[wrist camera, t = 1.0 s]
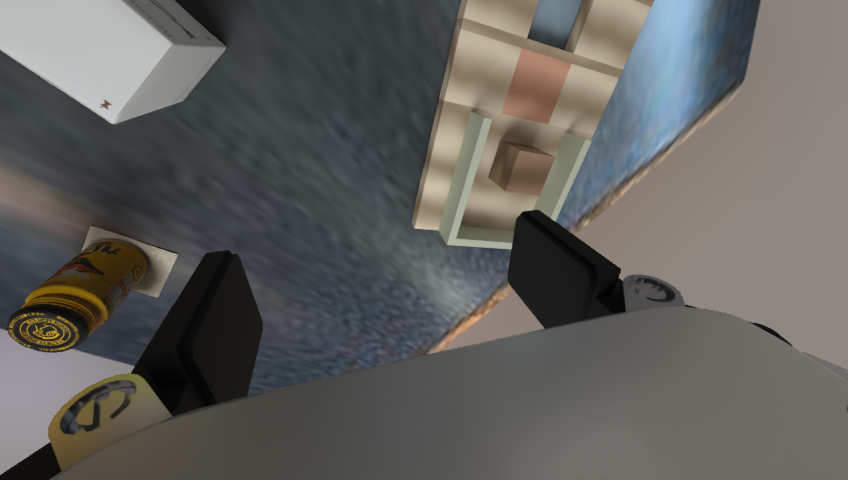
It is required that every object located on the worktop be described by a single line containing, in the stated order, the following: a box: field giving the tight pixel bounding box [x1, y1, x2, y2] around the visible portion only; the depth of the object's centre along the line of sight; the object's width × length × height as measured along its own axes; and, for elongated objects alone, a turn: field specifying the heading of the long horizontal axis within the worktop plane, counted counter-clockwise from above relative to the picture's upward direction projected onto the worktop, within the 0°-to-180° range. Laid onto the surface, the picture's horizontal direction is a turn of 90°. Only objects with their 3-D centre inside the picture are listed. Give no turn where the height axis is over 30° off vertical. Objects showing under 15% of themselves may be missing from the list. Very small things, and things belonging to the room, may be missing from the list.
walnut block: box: [488, 140, 555, 196], centre depth 40 cm, size 5×5×5 cm
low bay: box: [438, 111, 592, 249], centre depth 42 cm, size 16×15×4 cm
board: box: [411, 0, 654, 231], centre depth 41 cm, size 32×22×2 cm
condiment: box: [6, 226, 178, 353], centre depth 34 cm, size 7×8×12 cm
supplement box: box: [0, 0, 226, 124], centre depth 24 cm, size 7×7×13 cm
